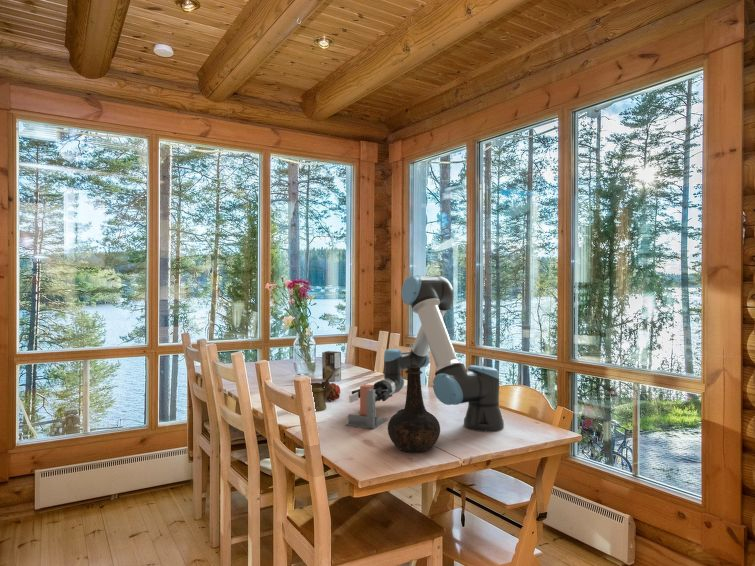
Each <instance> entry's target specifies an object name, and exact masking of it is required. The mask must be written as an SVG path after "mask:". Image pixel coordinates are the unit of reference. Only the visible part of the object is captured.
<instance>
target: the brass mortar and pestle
mask: <svg viewBox="0 0 755 566" xmlns="http://www.w3.org/2000/svg"><path fill="white" fill-rule="evenodd" d="M335 370H336V368H335V369H333V370H332V371H331V373H330V374H329V376H328V377H327V379H326V381H322V382H310V383H311V385H312V392H313V397H314V402H315V409H316V412H322V410H323V411H325V410H326V409H327V403H326V402H327V397H328V395H329V393H330V391H331V385H330V384H331V383H330V381H329V379H330V378H331V377H332V375H333V374H334V372H335ZM324 387H326V388H327V392H326V393H324V392H323V390H325V389H324Z"/></svg>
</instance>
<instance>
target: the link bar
mask: <svg viewBox="0 0 755 566" xmlns="http://www.w3.org/2000/svg"><path fill="white" fill-rule="evenodd" d="M359 389H360V398H359V401H360V402H359V404H360V405H359V408H360V409H359V410H360V415H367V390H368V389H374V384H362V385H360V386H359Z"/></svg>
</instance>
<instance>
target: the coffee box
mask: <svg viewBox="0 0 755 566" xmlns="http://www.w3.org/2000/svg"><path fill="white" fill-rule="evenodd" d="M321 364H322V369H321V370H322V371H321V372H322V375H321V376H322V377H321V378H322V381H323V380H326V379H327V377H328V376H329V374H330V373H331V371H332V370H333V369H335V368H336V370H335V372H334V374H333V375H332V377H331V378H330V379H329V382H332V381H336V382H339V381H338V380H340V381H341V380H342V352H341V351H334V350H333V351H331V350H328V351H323V352H321Z"/></svg>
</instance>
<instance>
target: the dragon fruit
mask: <svg viewBox="0 0 755 566" xmlns="http://www.w3.org/2000/svg"><path fill="white" fill-rule="evenodd" d="M330 385H331V391H330V393H329V395H328V397H327V399H328V401H331V400H333V401H334V400H337V399H338V400H339V399H340V395H341V387H340V386H339V385H336V383H335V382H331V383H330ZM324 389H325V390H323V392H324V393H326V392H327V388H326V387H324ZM327 399H326V400H327Z"/></svg>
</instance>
